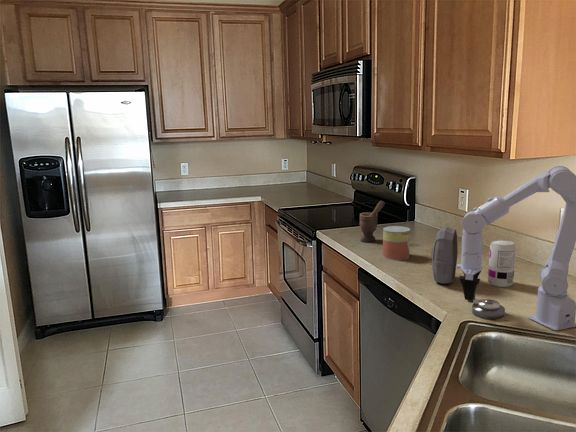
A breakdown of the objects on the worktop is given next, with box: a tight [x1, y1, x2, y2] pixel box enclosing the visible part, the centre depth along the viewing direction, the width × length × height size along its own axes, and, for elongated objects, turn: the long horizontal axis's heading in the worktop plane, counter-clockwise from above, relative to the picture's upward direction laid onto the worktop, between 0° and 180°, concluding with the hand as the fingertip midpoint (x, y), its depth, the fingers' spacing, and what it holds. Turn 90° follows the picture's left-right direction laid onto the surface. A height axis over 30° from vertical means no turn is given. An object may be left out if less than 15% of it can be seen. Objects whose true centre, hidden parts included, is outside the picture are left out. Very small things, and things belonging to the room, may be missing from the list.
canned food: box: [382, 225, 411, 261], centre depth 201 cm, size 11×11×12 cm
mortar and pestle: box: [359, 200, 386, 243], centre depth 227 cm, size 12×9×20 cm
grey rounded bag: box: [430, 226, 459, 284], centre depth 170 cm, size 15×8×20 cm, turn 153°
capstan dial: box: [466, 288, 501, 310], centre depth 143 cm, size 10×6×4 cm, turn 41°
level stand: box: [471, 303, 506, 321], centre depth 142 cm, size 9×9×2 cm
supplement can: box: [487, 239, 517, 288], centre depth 165 cm, size 8×8×15 cm
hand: (469, 295), depth 143 cm, fingers open, 7 cm apart
